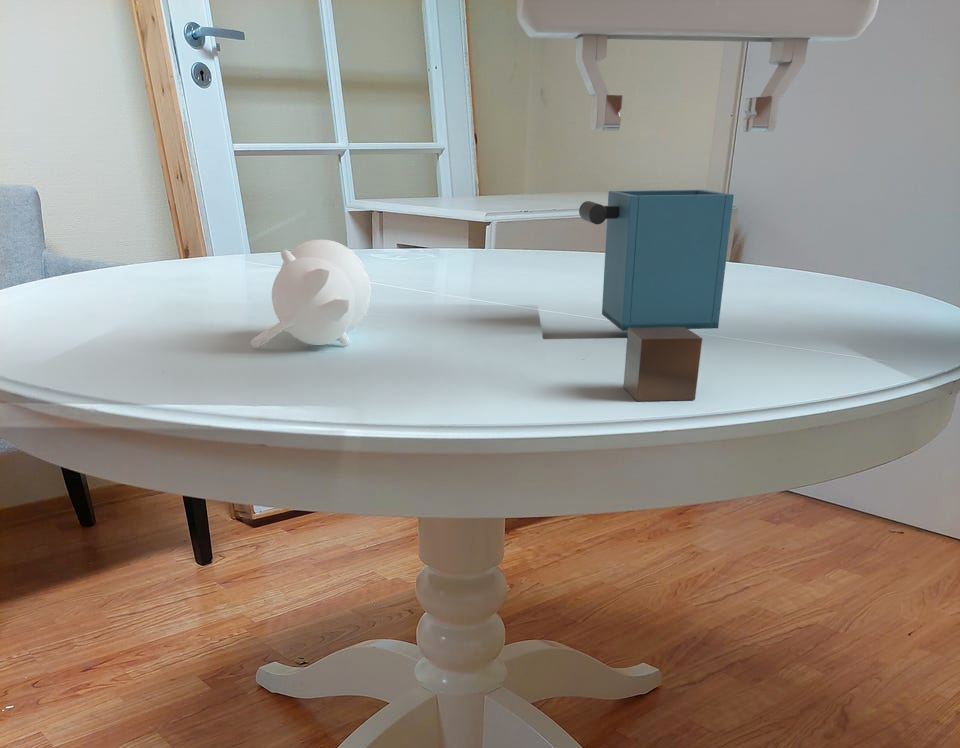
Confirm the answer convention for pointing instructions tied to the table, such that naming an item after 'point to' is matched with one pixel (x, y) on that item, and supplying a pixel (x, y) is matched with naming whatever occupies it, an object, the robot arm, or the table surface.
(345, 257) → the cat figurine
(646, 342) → the block
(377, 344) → the table surface
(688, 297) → the tub
